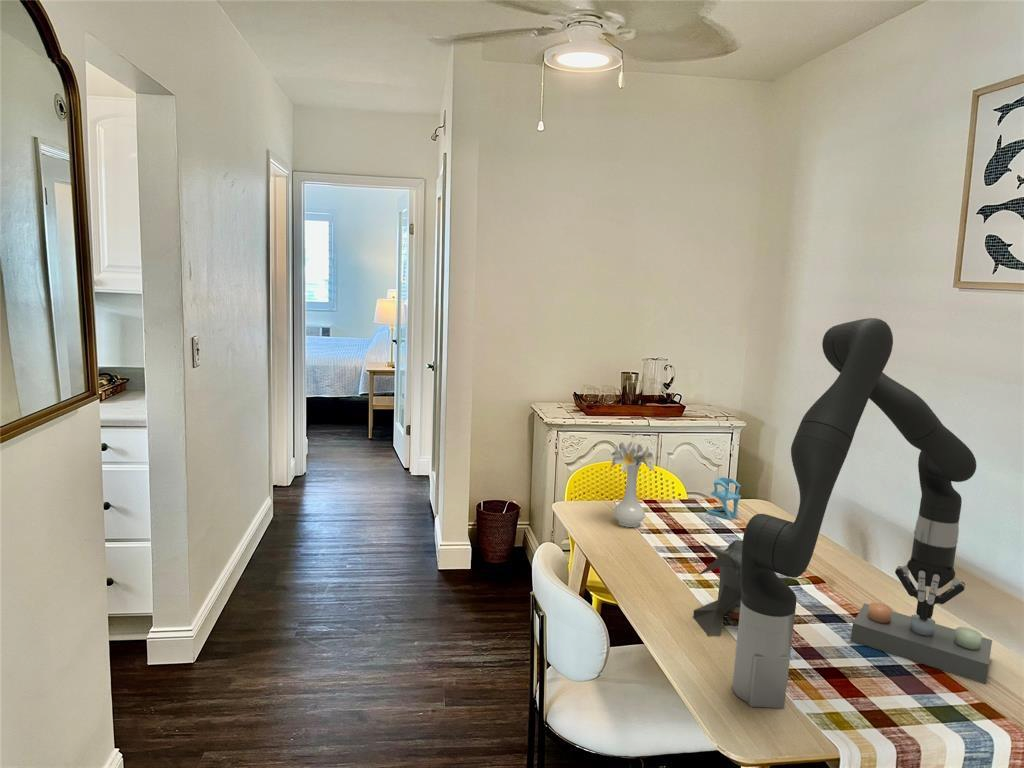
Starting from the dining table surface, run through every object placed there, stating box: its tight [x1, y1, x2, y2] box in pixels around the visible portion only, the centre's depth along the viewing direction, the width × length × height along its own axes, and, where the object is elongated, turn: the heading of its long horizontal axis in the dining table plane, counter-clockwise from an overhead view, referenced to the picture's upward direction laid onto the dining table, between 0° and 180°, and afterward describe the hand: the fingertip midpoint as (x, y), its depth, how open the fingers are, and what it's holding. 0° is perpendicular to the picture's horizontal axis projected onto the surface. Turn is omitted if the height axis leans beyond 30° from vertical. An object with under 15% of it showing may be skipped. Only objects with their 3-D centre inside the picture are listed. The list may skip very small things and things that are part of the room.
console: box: [850, 603, 993, 684], centre depth 147 cm, size 24×12×4 cm, turn 53°
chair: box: [706, 476, 742, 521], centre depth 224 cm, size 8×8×12 cm
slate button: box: [910, 614, 936, 636], centre depth 146 cm, size 4×4×2 cm
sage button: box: [954, 626, 983, 650], centre depth 141 cm, size 4×4×2 cm
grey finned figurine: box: [692, 539, 743, 637], centre depth 155 cm, size 14×15×18 cm
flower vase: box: [609, 441, 655, 528], centre depth 212 cm, size 13×18×25 cm
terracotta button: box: [868, 602, 893, 623], centre depth 151 cm, size 4×4×2 cm
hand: (923, 618), depth 146 cm, fingers closed
